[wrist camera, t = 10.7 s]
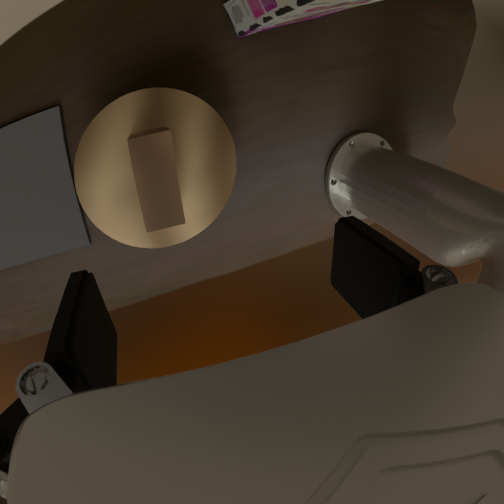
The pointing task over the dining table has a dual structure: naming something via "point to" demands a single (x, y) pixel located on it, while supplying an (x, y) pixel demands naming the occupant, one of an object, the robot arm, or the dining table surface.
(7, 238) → the mat
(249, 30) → the candy bar box
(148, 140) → the lid
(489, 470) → the robot arm
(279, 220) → the dining table surface
